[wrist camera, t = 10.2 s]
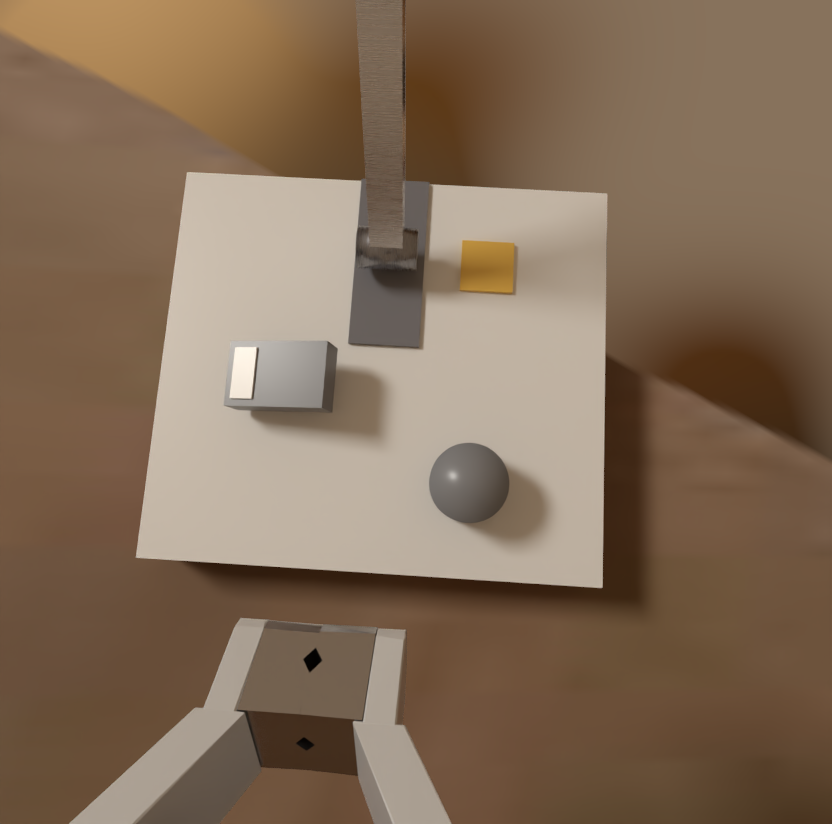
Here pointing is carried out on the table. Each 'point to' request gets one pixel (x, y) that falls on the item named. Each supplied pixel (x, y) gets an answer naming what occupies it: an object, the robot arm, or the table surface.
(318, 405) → the rocker switch
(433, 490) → the push button
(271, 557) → the switch panel
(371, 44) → the toggle lever
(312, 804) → the table surface
